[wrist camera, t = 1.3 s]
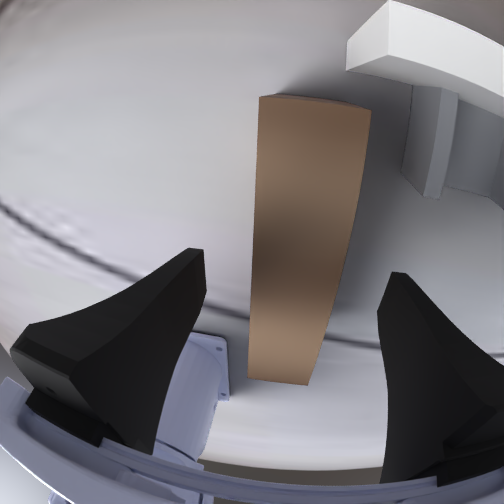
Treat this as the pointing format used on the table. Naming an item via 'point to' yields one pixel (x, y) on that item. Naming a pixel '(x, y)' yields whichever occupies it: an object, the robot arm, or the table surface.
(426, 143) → the bracket
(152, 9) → the table surface
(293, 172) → the rail
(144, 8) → the table surface
